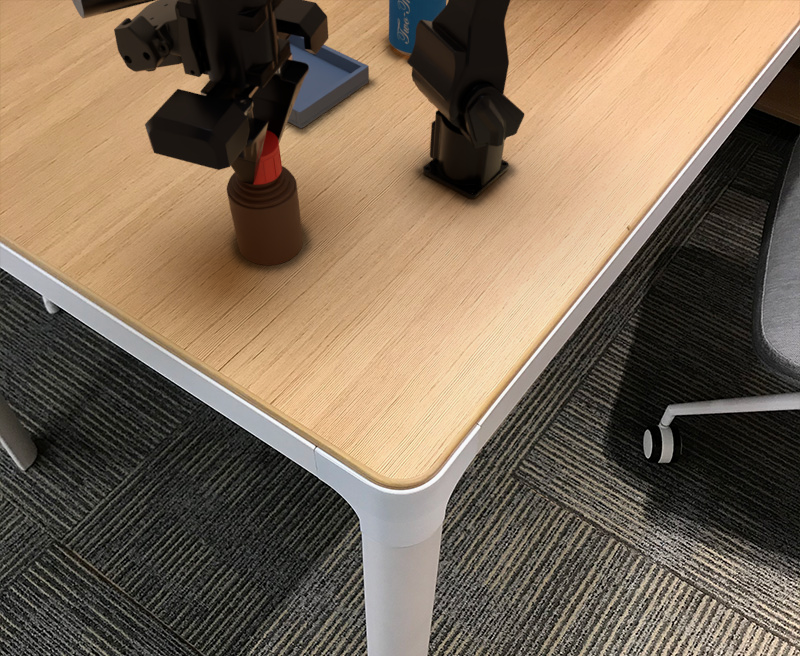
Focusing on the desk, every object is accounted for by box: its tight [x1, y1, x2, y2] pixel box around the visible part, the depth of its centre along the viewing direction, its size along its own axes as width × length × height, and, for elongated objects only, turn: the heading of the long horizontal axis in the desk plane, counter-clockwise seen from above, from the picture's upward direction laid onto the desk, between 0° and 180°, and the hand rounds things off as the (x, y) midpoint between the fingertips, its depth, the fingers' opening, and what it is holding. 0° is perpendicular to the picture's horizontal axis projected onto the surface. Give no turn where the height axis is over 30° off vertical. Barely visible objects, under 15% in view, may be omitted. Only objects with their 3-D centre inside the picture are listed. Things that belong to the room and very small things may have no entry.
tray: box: [287, 35, 370, 130], centre depth 85 cm, size 13×11×2 cm
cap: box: [236, 130, 283, 185], centre depth 64 cm, size 4×4×3 cm
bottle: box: [226, 165, 304, 266], centre depth 67 cm, size 6×6×10 cm
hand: (258, 167), depth 64 cm, fingers closed on cap, 4 cm apart
